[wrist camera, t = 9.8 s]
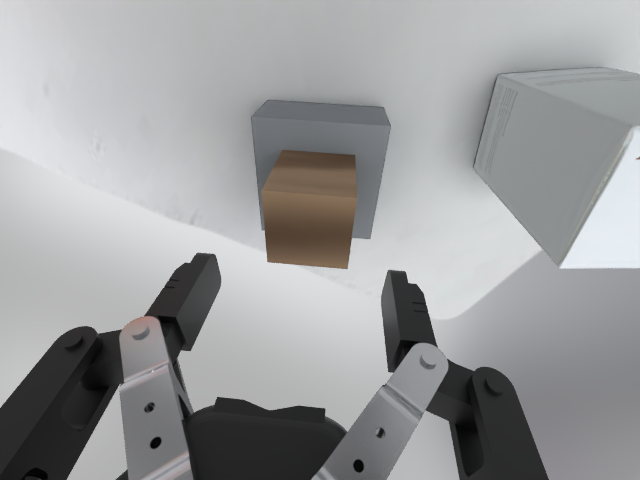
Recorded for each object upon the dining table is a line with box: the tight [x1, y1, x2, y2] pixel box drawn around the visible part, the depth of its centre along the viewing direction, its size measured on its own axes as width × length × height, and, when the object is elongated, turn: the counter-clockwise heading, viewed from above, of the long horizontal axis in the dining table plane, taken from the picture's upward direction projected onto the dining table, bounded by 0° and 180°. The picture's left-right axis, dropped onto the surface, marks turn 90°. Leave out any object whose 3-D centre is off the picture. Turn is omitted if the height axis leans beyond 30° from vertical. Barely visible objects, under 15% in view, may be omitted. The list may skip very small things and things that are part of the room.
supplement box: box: [474, 67, 640, 269], centre depth 17 cm, size 7×7×13 cm
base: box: [251, 100, 391, 239], centre depth 23 cm, size 9×9×5 cm
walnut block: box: [261, 150, 357, 269], centre depth 19 cm, size 5×5×6 cm
